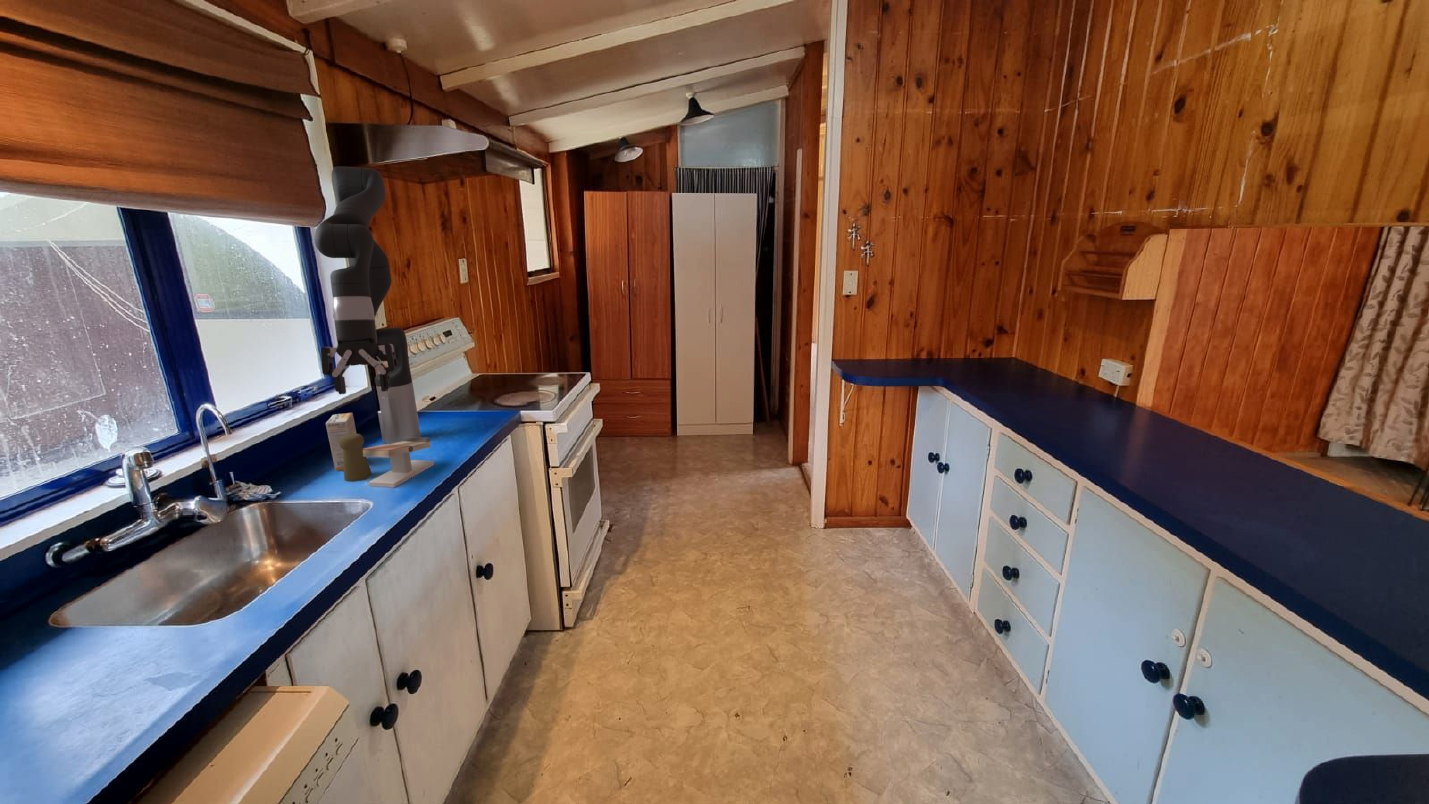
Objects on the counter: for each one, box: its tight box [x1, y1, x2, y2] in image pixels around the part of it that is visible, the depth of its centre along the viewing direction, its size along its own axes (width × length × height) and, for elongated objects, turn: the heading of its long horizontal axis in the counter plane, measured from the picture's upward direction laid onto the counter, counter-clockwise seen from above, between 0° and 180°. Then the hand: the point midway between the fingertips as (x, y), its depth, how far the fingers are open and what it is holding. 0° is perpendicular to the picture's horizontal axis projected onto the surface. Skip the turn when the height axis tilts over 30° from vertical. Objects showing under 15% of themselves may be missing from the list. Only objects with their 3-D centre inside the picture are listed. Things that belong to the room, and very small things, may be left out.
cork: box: [339, 433, 373, 483], centre depth 140 cm, size 6×6×11 cm
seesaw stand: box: [367, 452, 435, 488], centre depth 141 cm, size 7×15×6 cm, turn 170°
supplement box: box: [325, 412, 357, 472], centre depth 148 cm, size 8×5×13 cm, turn 22°
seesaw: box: [363, 436, 432, 459], centre depth 140 cm, size 7×15×3 cm, turn 170°
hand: (363, 392), depth 126 cm, fingers open, 8 cm apart
